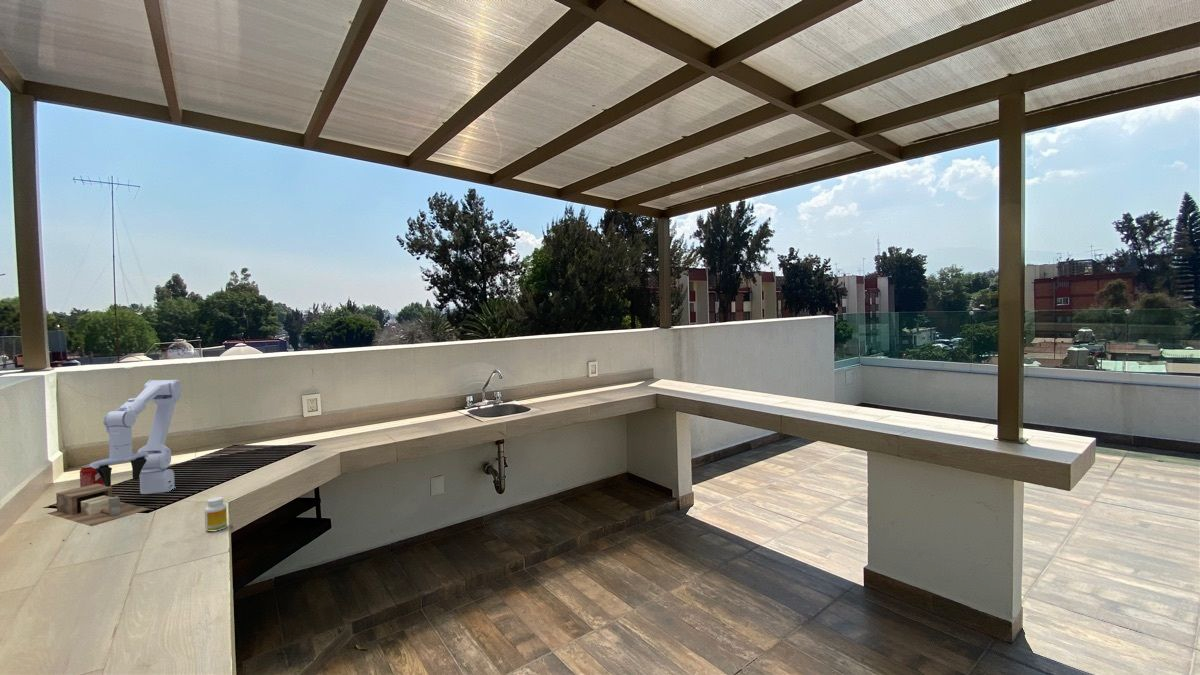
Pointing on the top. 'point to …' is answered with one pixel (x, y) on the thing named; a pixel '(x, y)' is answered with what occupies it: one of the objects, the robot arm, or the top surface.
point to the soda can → (89, 476)
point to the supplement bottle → (215, 514)
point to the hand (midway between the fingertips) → (122, 482)
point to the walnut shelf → (72, 499)
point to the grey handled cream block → (101, 506)
